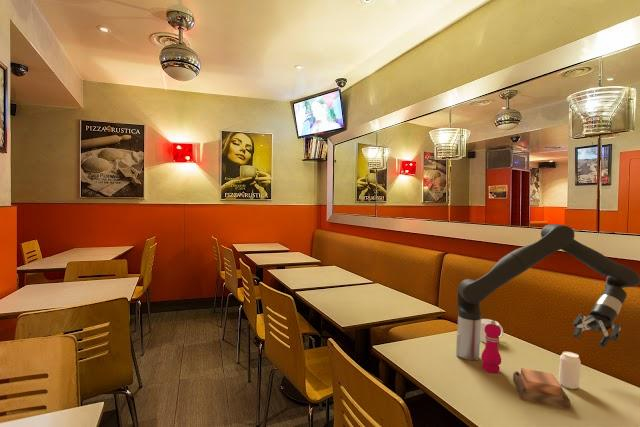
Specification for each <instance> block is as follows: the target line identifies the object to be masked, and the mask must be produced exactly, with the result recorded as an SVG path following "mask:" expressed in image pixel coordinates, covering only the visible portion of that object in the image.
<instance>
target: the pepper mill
mask: <svg viewBox="0 0 640 427" xmlns="http://www.w3.org/2000/svg"><path fill="white" fill-rule="evenodd" d="M491 320H492V321H491V324H487V325H486V326H485V333H486V334H487V335H486V340H487V343H485V347H484V349H483V351H482V353H481V356H480V358H481V361H482V364H481V368H482V369H483V370H484V372H487V373H490V374H491V373H492V374H498V373H499V372H500V366H499V365H501V364H502V357H501V354H500V352H499V347H498V343H499V342H500V338H499V336H500V335H501V329H500V327H499V326H497V325H495V324H496V322H497V321H496V320H493V319H491ZM495 321H496V322H495Z"/></svg>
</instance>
